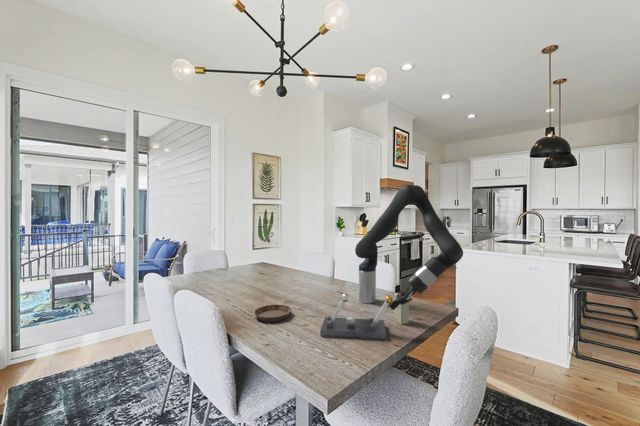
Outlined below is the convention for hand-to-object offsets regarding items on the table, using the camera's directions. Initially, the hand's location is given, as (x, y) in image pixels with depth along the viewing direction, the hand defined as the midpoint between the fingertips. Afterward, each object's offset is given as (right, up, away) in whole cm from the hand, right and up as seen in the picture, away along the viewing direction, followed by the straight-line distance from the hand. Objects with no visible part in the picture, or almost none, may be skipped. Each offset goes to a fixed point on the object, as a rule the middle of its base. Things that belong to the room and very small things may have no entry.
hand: (391, 307), depth 122 cm
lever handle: (-7, -8, +1) cm, 11 cm away
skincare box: (+7, -10, +12) cm, 18 cm away
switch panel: (-15, -11, +3) cm, 19 cm away
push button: (-16, -8, +3) cm, 18 cm away
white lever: (-25, -8, +4) cm, 27 cm away
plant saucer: (-52, -11, +21) cm, 57 cm away
